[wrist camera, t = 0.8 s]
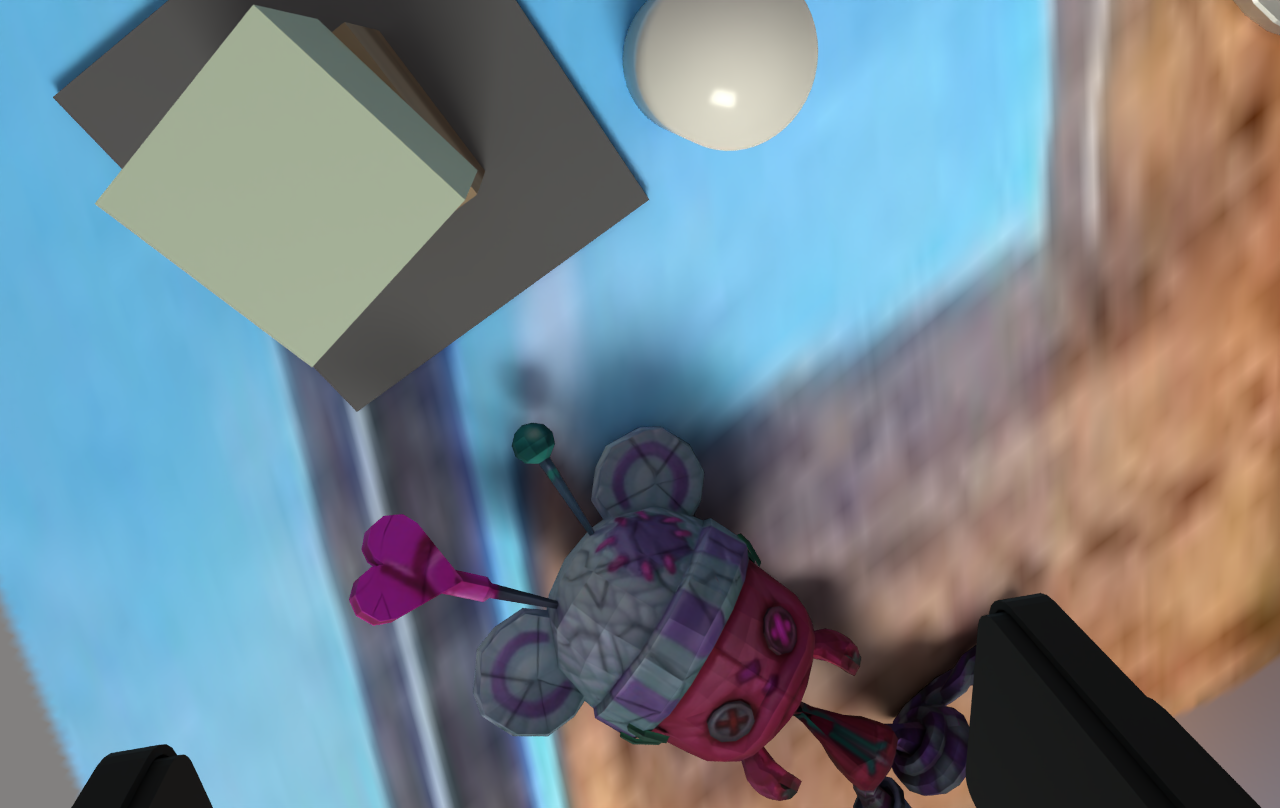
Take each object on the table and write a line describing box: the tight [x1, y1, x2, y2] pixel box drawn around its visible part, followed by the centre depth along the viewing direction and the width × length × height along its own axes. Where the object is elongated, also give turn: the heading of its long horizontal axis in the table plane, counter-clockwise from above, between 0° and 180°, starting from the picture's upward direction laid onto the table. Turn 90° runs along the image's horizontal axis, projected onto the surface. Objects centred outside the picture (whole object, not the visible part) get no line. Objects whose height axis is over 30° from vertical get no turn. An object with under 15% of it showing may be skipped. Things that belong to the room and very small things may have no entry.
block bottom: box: [332, 22, 485, 211], centre depth 25 cm, size 6×6×6 cm
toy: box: [349, 423, 977, 808], centre depth 33 cm, size 16×9×30 cm
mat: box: [53, 0, 649, 411], centre depth 28 cm, size 14×14×1 cm
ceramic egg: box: [623, 0, 818, 151], centre depth 25 cm, size 5×5×6 cm
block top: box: [95, 5, 478, 367], centre depth 20 cm, size 6×6×6 cm
